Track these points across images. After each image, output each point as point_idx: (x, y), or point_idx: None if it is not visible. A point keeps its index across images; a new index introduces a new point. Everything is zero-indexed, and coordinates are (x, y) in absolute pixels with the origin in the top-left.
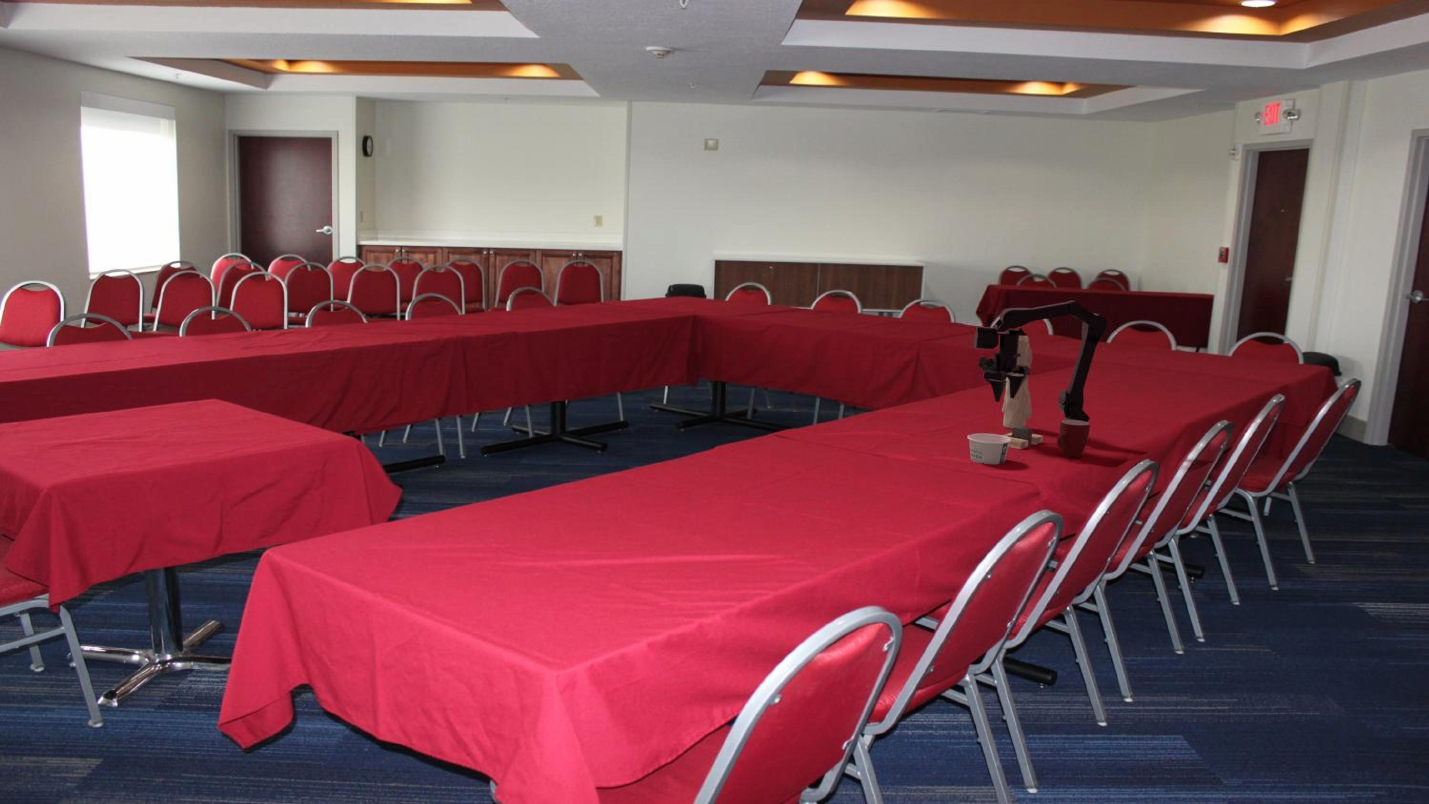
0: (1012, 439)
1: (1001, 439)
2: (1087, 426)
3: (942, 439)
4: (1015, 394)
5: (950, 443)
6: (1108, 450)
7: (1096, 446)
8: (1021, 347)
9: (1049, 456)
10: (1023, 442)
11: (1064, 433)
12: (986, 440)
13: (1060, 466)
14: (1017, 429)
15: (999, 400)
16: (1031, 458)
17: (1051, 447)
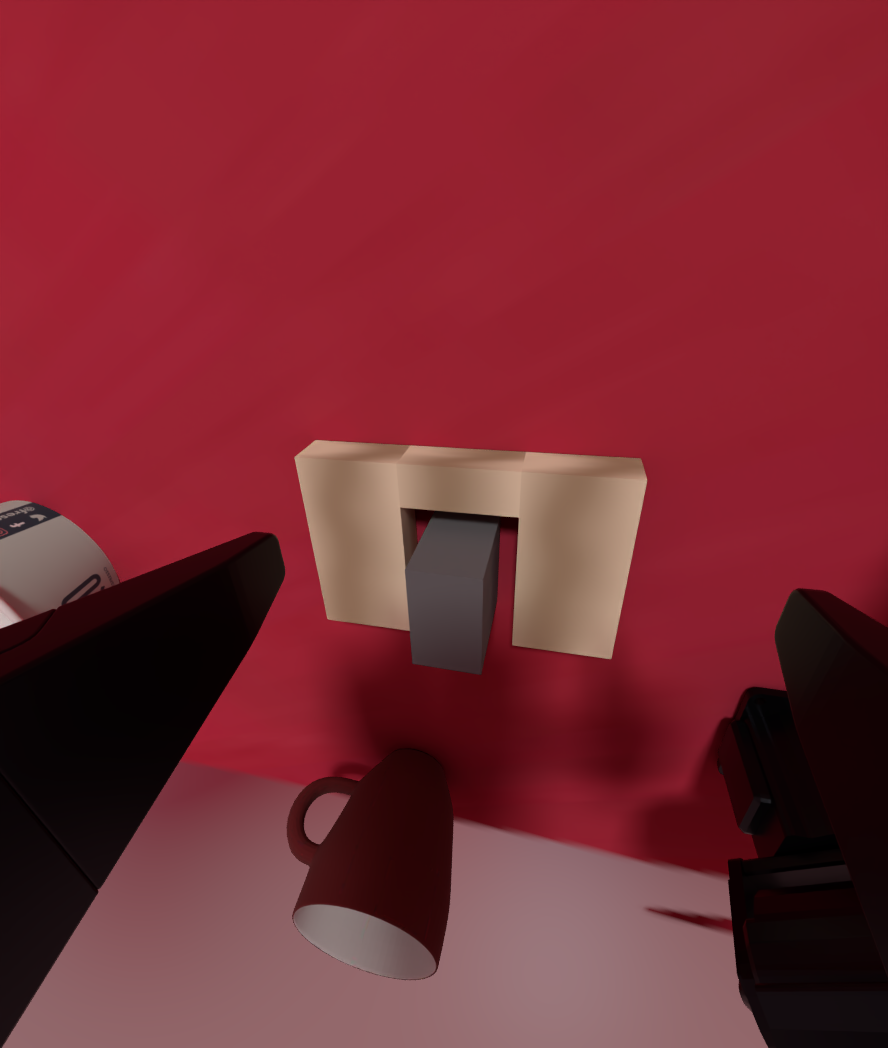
0: (356, 562)
1: None
2: (366, 960)
3: (83, 39)
4: (808, 724)
5: (69, 209)
6: (648, 847)
7: (707, 815)
8: None
9: (337, 710)
10: (358, 620)
11: (299, 860)
12: (15, 573)
13: (244, 756)
14: (410, 599)
15: (263, 596)
16: (244, 671)
17: (514, 685)
